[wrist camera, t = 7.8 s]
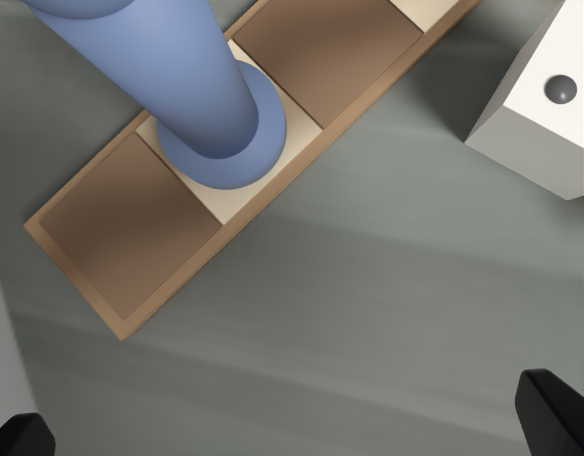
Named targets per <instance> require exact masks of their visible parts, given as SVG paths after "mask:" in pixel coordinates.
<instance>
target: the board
mask: <svg viewBox="0 0 584 456" xmlns="http://www.w3.org/2000/svg"><path fill="white" fill-rule="evenodd" d="M481 1H482V0H258V1H257V2H256V3H255V4H254V5H253V6H252V7H251V8H250V9H249V10H248V11H247V12H246V13H245V14H244V15H243V16H242V17H240V18H239V19H238V20H237V21H236V22H235V23H234V24H233V25H232V26H231V27H230V28H229V29H228V30H227V31H226V32H225V33H224V36H225V38H226V40H227V43H228V45H229V47H230V49H231V51H232V53H233V55H234V58H235V59H237V60H241V61H244V62H246V63H248V64H251V65H252V66H254V67H256V68H257V69H259V70H260V71H261V72H263V73H264V74H265V75H266V76H267V77H268V78H269V80H270V81H271V82H272V84H273V85H274V87H275V89H276V90H277V92H278V95H279V97H280V100H281V103H282V106H283V110H284V113H285V117H286V123H287V136H286V142H285V146H284V149H283V152H282V154H281V156H280V158H279V160H278V161H277V163H276V164H275V166H274V167H273V168H272V169H271V170H270V171H269V172H268V173H267V174H266V175H265V176H264V177H262V178H261V179H260V180H258V181H256V182H254V183H253V184H251V185H248V186H245V187H242V188H238V189H232V190H219V189H213V188H210V187H206V186H204V185H202V184H200V183H198V182H196V181H195V180H193V179H191V178H190V177H188V176H187V175H185V174H184V173H182V172H181V171H179V170H178V169H177V168H176V167H175V166H174V165H173V164H172V163H171V162H170V161H169V159H168V158H167V156H166V155H165V153H164V151H163V149H162V147H161V145H160V142H159V138H158V133H157V119H156V118H155V117H154V116H152V115H151V114H150V113H149V112H148V111H147V110H145V109H144V110H143V111H142V112H141V113H140V114H139V115H138V116H137V117H136V118H135V119H134V120H133V121H132V122H130V123H129V124H128V125H127V126H126V127H125V128H124V129H123V130H122V131H121V132H120V133H119V134H118V135H117V136H116V137H115V138H114V139H113V140H112V141H111V142H110V143H109V144H107V145H106V146H105V147H104V148H103V149H102V150H101V151H100V152H99V153H98V154H97V155H96V156H95V157H94V158H93V159H92V160H91V161H90V162H89V163H88V164H87V165H85V166H84V167H83V168H82V169H81V170H80V171H79V172H78V173H77V174H76V175H75V176H74V177H73V178H72V179H71V180H70V181H69V182H68V183H67V184H66V185H65V186H63V187H62V188H61V189H60V190H59V191H58V192H57V193H56V194H55V195H54V196H53V197H52V198H51V199H50V200H49V201H48V202H47V203H46V204H45V205H44V206H43V207H41V208H40V209H39V210H38V211H37V212H36V213H35V214H34V215H33V216H32V217H31V218H30V219H29V220H28V221H27V222H26V223H25V224H24V225H23V226H24V228H25V229H26V230H27V231H28V232H29V233H30V235H31V236H32V237H33V238H34V239H35V240H36V242H37V243H38V244H39V245H40V246H41V248H42V249H43V250H44V251H45V252H46V253H47V255H48V256H49V257H50V258H51V259H52V260H53V262H54V263H55V264H56V265H57V266H58V268H59V269H60V270H61V271H62V272H63V273H64V275H65V276H66V277H67V278H68V279H69V280H70V282H71V283H72V284H73V285H74V286H75V287H76V289H77V290H78V291H79V292H80V293H81V295H82V296H83V297H84V298H85V299H86V300H87V302H88V303H89V304H90V305H91V306H92V307H93V309H94V310H95V311H96V312H97V313H98V314H99V316H100V317H101V318H102V319H103V320H104V322H105V323H106V324H107V325H108V326H109V327H110V329H111V330H112V331H113V332H114V333H115V334H116V336H117V337H118V338H119V339H120V340H121V341H122V340H125V339H128V338H129V337H130V336H131V335H132V334H133V333H134V332H135V331H136V330H137V329H138V328H139V327H140V326H141V325H142V324H143V323H144V322H145V321H146V320H147V319H148V318H150V317H151V316H152V315H153V314H154V313H155V312H156V311H157V310H158V309H159V308H160V307H161V306H162V305H163V304H164V303H165V302H166V301H167V300H168V299H169V298H171V297H172V296H173V295H174V294H175V293H176V292H177V291H178V290H179V289H180V288H181V287H182V286H183V285H184V284H185V283H186V282H187V281H188V280H189V279H190V278H191V277H193V276H194V275H195V274H196V273H197V272H198V271H199V270H200V269H201V268H202V267H203V266H204V265H205V264H206V263H207V262H208V261H209V260H210V259H211V258H212V257H213V256H215V255H216V254H217V253H218V252H219V251H220V250H221V249H222V248H223V247H224V246H225V245H226V244H227V243H228V242H229V241H230V240H231V239H232V238H233V237H234V236H236V235H237V234H238V233H239V232H240V231H241V230H242V229H243V228H244V227H245V226H246V225H247V224H248V223H249V222H250V221H251V220H252V219H253V218H254V217H255V216H256V215H258V214H259V213H260V212H261V211H262V210H263V209H264V208H265V207H266V206H267V205H268V204H269V203H270V202H271V201H272V200H273V199H274V198H275V197H276V196H277V195H278V194H280V193H281V192H282V191H283V190H284V189H285V188H286V187H287V186H288V185H289V184H290V183H291V182H292V181H293V180H294V179H295V178H296V177H297V176H298V175H299V174H300V173H302V172H303V171H304V170H305V169H306V168H307V167H308V166H309V165H310V164H311V163H312V162H313V161H314V160H315V159H316V158H317V157H318V156H319V155H320V154H321V153H323V152H324V151H325V150H326V149H327V148H328V147H329V146H330V145H331V144H332V143H333V142H334V141H335V140H336V139H337V138H338V137H339V136H340V135H341V134H342V133H343V132H345V131H346V130H347V129H348V128H349V127H350V126H351V125H352V124H353V123H354V122H355V121H356V120H357V119H358V118H359V117H360V116H361V115H362V114H363V113H364V112H365V111H367V110H368V109H369V108H370V107H371V106H372V105H373V104H374V103H375V102H376V101H377V100H378V99H379V98H380V97H381V96H382V95H383V94H384V93H385V92H386V91H387V90H389V89H390V88H391V87H392V86H393V85H394V84H395V83H396V82H397V81H398V80H399V79H400V78H401V77H402V76H403V75H404V74H405V73H406V72H407V71H408V70H410V69H411V68H412V67H413V66H414V65H415V64H416V63H417V62H418V61H419V60H420V59H421V58H422V57H423V56H424V55H425V54H426V53H427V52H428V51H429V50H430V49H432V48H433V47H434V46H435V45H436V44H437V43H438V42H439V41H440V40H441V39H442V38H443V37H444V36H445V35H446V34H447V33H448V32H449V31H450V30H451V29H452V28H454V27H455V26H456V25H457V24H458V23H459V22H460V21H461V20H462V19H463V18H464V17H465V16H466V15H467V14H468V13H469V12H470V11H471V10H472V9H473V8H474V7H476V6H477V5H478V4H479V3H480V2H481Z"/></svg>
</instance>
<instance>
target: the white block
mask: <svg viewBox="0 0 584 456" xmlns="http://www.w3.org/2000/svg"><path fill="white" fill-rule="evenodd" d="M464 144H465V145H467V146H469V147H471V148H473V149H474V150H476V151H478V152H480V153H482V154H483V155H485V156H487V157H489V158H491V159H492V160H494V161H496V162H498V163H500V164H502V165H503V166H505V167H507V168H509V169H511V170H512V171H514V172H516V173H518V174H520V175H521V176H523V177H525V178H527V179H529V180H531V181H532V182H534V183H536V184H538V185H540V186H541V187H543V188H545V189H547V190H549V191H550V192H552V193H554V194H556V195H558V196H560V197H561V198H563V199H565V200H571V199H574V198H577V197H580V196H584V0H562V1H561V2H560V3H559V4H558V5H557V6H556V8H555V9H554V10H553V11H552V12H551V14H550V15H549V16H548V17H547V18H546V20H545V21H544V22H543V23H542V24H541V26H540V27H539V28H538V29H537V30H536V32H535V33H534V34H533V35H532V36H531V38H530V39H529V40H528V41H527V42H526V44H525V45H524V46H523V47H522V48H521V49H520V51H519V53H518V54H517V56H516V58H515V59H514V61H513V63H512V64H511V66H510V68H509V69H508V71H507V73H506V74H505V76H504V78H503V79H502V81H501V83H500V84H499V86H498V88H497V89H496V91H495V93H494V94H493V96H492V98H491V99H490V101H489V102H488V104H487V106H486V107H485V109H484V111H483V112H482V114H481V116H480V117H479V119H478V121H477V122H476V124H475V126H474V127H473V129H472V131H471V132H470V134H469V136H468V137H467V139H466V141H465V142H464Z"/></svg>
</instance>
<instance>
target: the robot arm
mask: <svg viewBox="0 0 584 456" xmlns="http://www.w3.org/2000/svg"><path fill="white" fill-rule="evenodd" d="M515 407H516V411H517V415H518V417H519V420H520V423H521V426H522V429H523V432H524V435H525V438H526V441H527V444H528V447H529V450H530V452H531V455H532V456H584V397H583V396H582V395H581V394H579V393H578V392H577V391H575V390H574V389H573V388H572V387H570V386H569V385H568V384H566V383H565V382H564V381H562V380H561V379H560V378H559V377H557V376H556V375H555V374H553V373H552V372H551V371H549V370H547V369H543V368H540V369H528V370H524V371H523V372H522V373H521V375H520V379H519V383H518V387H517V392H516V396H515ZM55 447H56V444H55V438H54V436H53V434H52V433H51V431H50V429H49V428H48V426H47V424H46V423H45V421H44V420H43V418H42V416H41V415H40V414H38V413H25V414H18V415H15V416H13V417H12V418H10V419H9V420H8V421H7V422H6V423H5V424H4V425H3V426H2V427H1V428H0V456H54V454H55Z"/></svg>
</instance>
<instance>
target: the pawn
mask: <svg viewBox="0 0 584 456" xmlns="http://www.w3.org/2000/svg"><path fill="white" fill-rule="evenodd" d="M21 1H23V2H24V3H26V4H27V6H28V7H29V8H30V9H31V11H32V12H33V13H34V14H35V15H36V16H37V17H38V18H40V19H41V20H42V21H43V22H44V23H45V24H46V25H48V26H49V27H50V28H51V29H52V30H53V31H55V32H56V33H57V34H58V35H59V36H60V37H62V38H63V39H64V40H65V41H66V42H67V43H69V44H70V45H71V46H72V47H73V48H74V49H76V50H77V51H78V52H79V53H80V54H81V55H83V56H84V57H85V58H86V59H87V60H88V61H90V62H91V63H92V64H93V65H94V66H95V67H97V68H98V69H99V70H100V71H101V72H102V73H104V74H105V75H106V76H107V77H108V78H109V79H111V80H112V81H113V82H114V83H115V84H116V85H118V86H119V87H120V88H121V89H122V90H123V91H124V92H126V93H127V94H128V95H129V96H130V97H131V98H133V99H134V100H135V101H136V102H137V103H138V104H140V105H141V106H142V107H143V108H144V109H145V110H147V111H148V112H149V113H150V114H151V115H152V116H154V117H155V118H156V119H157V133H158V138H159V142H160V145H161V147H162V149H163V151H164V153H165V155H166V156H167V158H168V159H169V161H170V162H171V163H172V164H173V165H174V166H175V167H176V168H177V169H178V170H179V171H181V172H182V173H184V174H185V175H187V176H188V177H190V178H191V179H193V180H195V181H196V182H198V183H200V184H202V185H204V186H206V187H210V188H213V189H219V190H232V189H238V188H242V187H245V186H248V185H251V184H253V183H254V182H256V181H258V180H260V179H261V178H262V177H264V176H265V175H266V174H267V173H268V172H269V171H270V170H271V169H272V168H273V167H274V166H275V164H276V163H277V161H278V160H279V158H280V156H281V154H282V152H283V149H284V146H285V142H286V136H287V123H286V117H285V113H284V110H283V106H282V103H281V100H280V97H279V95H278V92H277V90H276V89H275V87H274V85H273V84H272V82H271V81H270V80H269V78H268V77H267V76H266V75H265V74H264V73H263V72H261V71H260V70H259V69H257V68H256V67H254V66H252V65H251V64H248V63H246V62H244V61H241V60H237V59H235V58H234V55H233V53H232V51H231V49H230V47H229V45H228V43H227V40H226V38H225V36H224V34H223V32H222V30H221V28H220V25H219V23H218V21H217V19H216V17H215V15H214V12H213V10H212V8H211V6H210V4H209V2H208V0H21Z"/></svg>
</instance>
